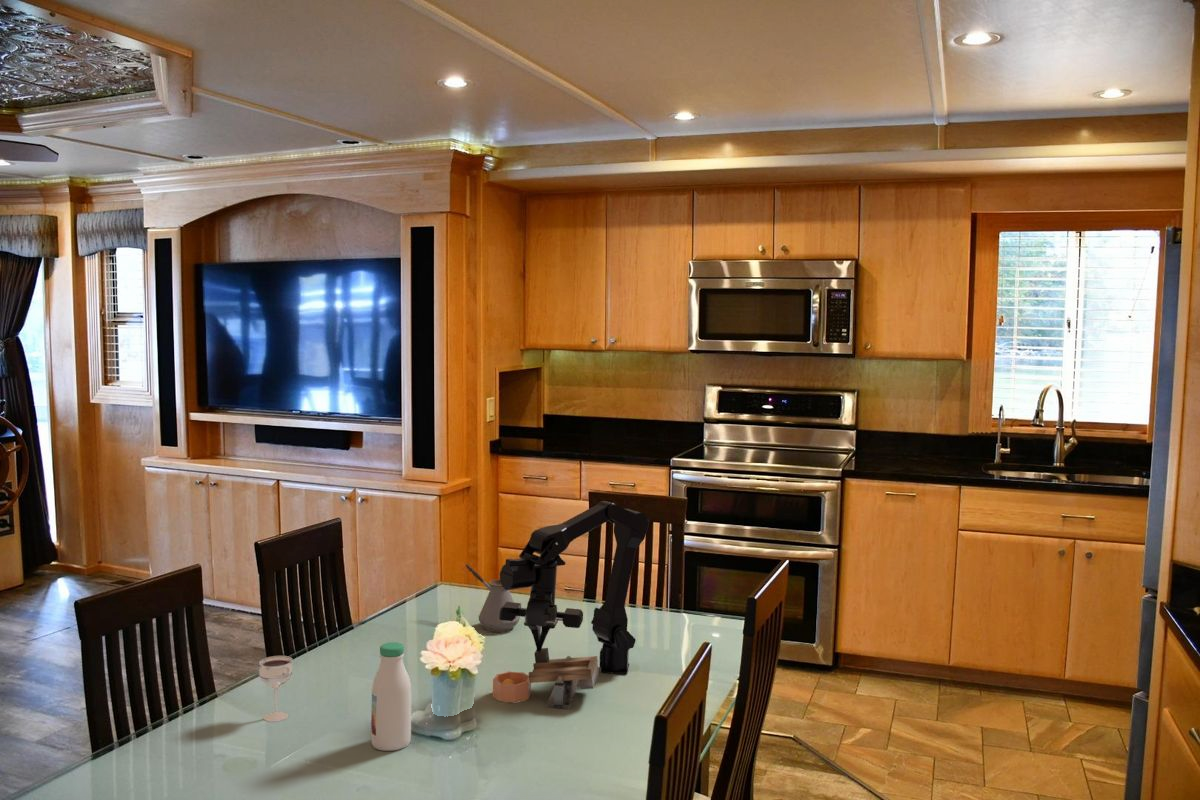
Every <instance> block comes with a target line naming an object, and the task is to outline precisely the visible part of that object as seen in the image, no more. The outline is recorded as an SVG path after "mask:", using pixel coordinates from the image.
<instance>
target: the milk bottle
mask: <svg viewBox="0 0 1200 800" xmlns="http://www.w3.org/2000/svg"><path fill="white" fill-rule="evenodd" d="M404 650H405V646H404V644H403V643H402V642H396V641H393V642H391V641H389V642H385V643H382V644H381V645H380V647H379V654H380V655H379V658H380V664H379V667H378V670H377V672H376V674H375V676H374V679H373V683H372V688H371V716H370V717H371V722H370V724H371V725H370V727H371V728H370V729H371V730H370V731H371V734H370V735H371V745H372V747H373V748H374V749H376V750H379V751H384V752H385V751H386V752H393V751H398V750H402V749H404V748H406V747H407V746H408V745H409V744H410V742H411V740H412V683H411V679H410V676H409V673H408V672H407V671H408V670H406V667H405V664H404V660H403V657H404Z"/></svg>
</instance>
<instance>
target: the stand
mask: <svg viewBox="0 0 1200 800" xmlns="http://www.w3.org/2000/svg"><path fill="white" fill-rule="evenodd" d="M578 687H579V680H567V681H562V682H561V683H557V681H555V683H554V685H553V689H552V692H551V694H550V696H549V699H548V701H547V703H546V708H548V709H549V708H550V709H564V710H570V708H571V706H572V703H573V701H574V697H575V695H576V692H577V690H578Z"/></svg>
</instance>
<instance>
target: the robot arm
mask: <svg viewBox="0 0 1200 800" xmlns="http://www.w3.org/2000/svg"><path fill="white" fill-rule="evenodd" d="M608 522H610V523H611V524H613V535H614V540H615V542H616V547H615V552H614V557H613V562H612V565H611V566H612V567H611V571H610V576H609V580H608V584H607V585H608V586H607V590H606V594H605V595H606V596H605V600H604V602H603V604H602V605H601V606H600V607H594V609H593V617H592V620H591V622H590V623H591V625H592V632H593V633H594V635H595V636H596V639H597V641H598V642H599V643H601V644H602V645H601V646H602V647H601V648H600V650H599V668H600V673H602V674H614V675H615V674H616V675H617V674H618V675H627V674H628V672H629V669H630V663H629V657H630V656H629V652H630V649H633V648H634V647H635V644H636V638H635V637H634V636H633V635H632V634H631V633H630V632H629V630H628V620H629V618H628V615H627V611H626V601H627V597H628V592H629V587H630V581H631V576H632V573H633V567H634V561H635V557H636V552H637V549H638V547H639V546H640V545H641V544H642V542H643V541H644V540H645V538H646V534H648V533H647V532H648V529H649V527H650V520H649V519H648V517H647V515H646V514H645V513H643V512H640V511H635V510H632V509H629V508H623V507H621V506H619V505H617V504H616V503H614V502H610V501H606V500H602V501H599V502H598V503H597V504H596V505H594V506H592V507H590V508H588V509H587V510H585V511H583V512H580V513H579V514H576V515H575V516H573V517H571V518H569V519H568V520H565V521H564V522H562V523H559V524H553V525H548V526H544V527H540V528H537V529H536V530H535V529H534V531H532V533H531V534H530V536H529V537H530V538H529V541H528V542H527V543H526V545H525V546H524V548H523V549H522V551H521V553H520V554H519V556H518V557H519V558H506V559H505V564H503V565H502V567H501V569H500V571H499V579H500V582H501V585H502V587H503V588H504V589H505V590H509V591H513V590H519V589H527V588H530V595H529V599H528V602H527V605H526V607H522V603H521V602H515V601H514V602H506V603H505V604H504V605H503V606H502V608H501V609H500V615H499V619H500V620H506V621H513V620H514V619H515V618H516V616H520V617H524V621H523V625H524V626H526V627H527V628H529V630H530V632H531V634H532V636H533V640H534V641H533V642H534V643H535V646H536V650H537V651H541V649H542V648H543V645H544V644H545V641H546V638H547V636H548V634H549V632H550V630H551V629H556V627H557V624H558V622H559V621H560V622H561V621H562V624H563V626H565V628H573V629H579V628H581V626H582V623H583V622H584V611H583V610H582V609H579V608H569V607H566V608H565V611H564V612H562V611H558V606H557V604H555V603H556V590H557V589H556V588H557V576H558V573H557V572H558V567H559V566H561V567H562V566H565V565H566V561H565V560H564V559H563V558H562V557H561V554H562V553H563V552H565V551H566V550H567V549H568V548H569V546H570V544H571V542H573V541H574V540H576V539H577V538H579V537H581V536H583V535H585V534H587V533H589V532H591V531H592V530H594V529H595V528H598V527H600V526H601V525H603V524H605V523H608ZM538 555H539V556H538Z"/></svg>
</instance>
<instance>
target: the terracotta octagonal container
mask: <svg viewBox="0 0 1200 800" xmlns="http://www.w3.org/2000/svg"><path fill="white" fill-rule="evenodd" d="M505 679H511V680H513V681H514V683H515V685H514V684H502V682H503V681H504V680H505ZM531 689H532V683H530V682H529V674H527V673H525V672H522V671H504V672H501V673H497V674H496V675H495V676H494V678H493V679H492V698H494V697H495V698H496V699H495V698H494V699H495V700H497V699H498V700H500V701H505V702H504V703H508V702H517V703H519V702H518V701H521V702H524V701H528V700H529V698H530V696H531V694H532V691H531ZM530 693H531V694H530ZM527 699H528V700H527ZM498 700H497V701H498ZM523 700H524V701H523ZM500 701H499V702H500Z"/></svg>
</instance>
